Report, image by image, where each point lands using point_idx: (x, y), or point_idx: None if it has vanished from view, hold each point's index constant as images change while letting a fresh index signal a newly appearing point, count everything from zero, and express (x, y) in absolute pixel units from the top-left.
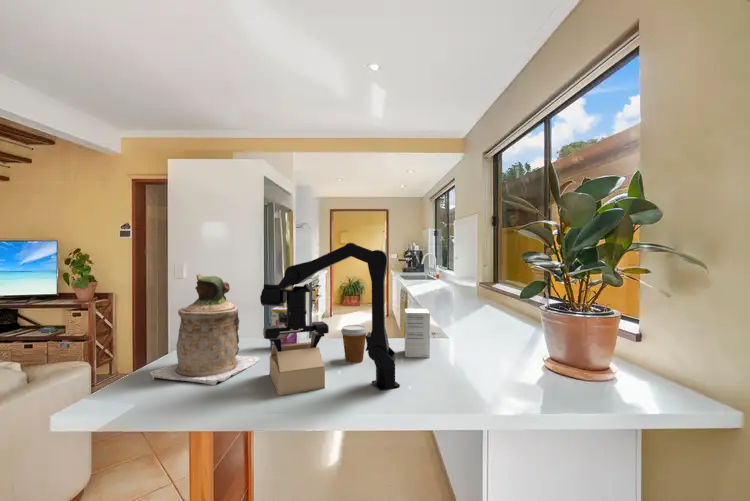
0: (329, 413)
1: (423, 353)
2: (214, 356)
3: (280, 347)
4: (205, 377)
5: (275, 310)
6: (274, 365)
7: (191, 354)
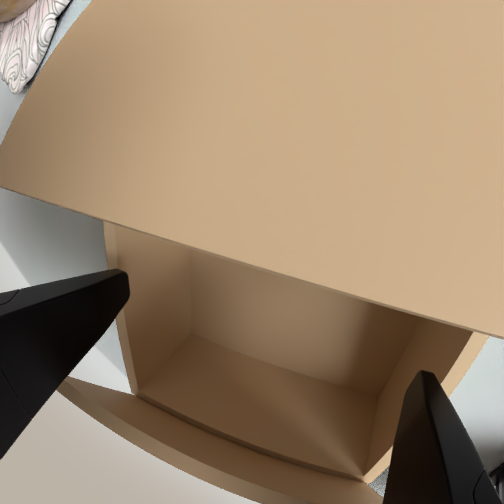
0: None
1: None
2: None
3: (41, 400)
4: (9, 35)
5: None
6: (109, 269)
7: None
